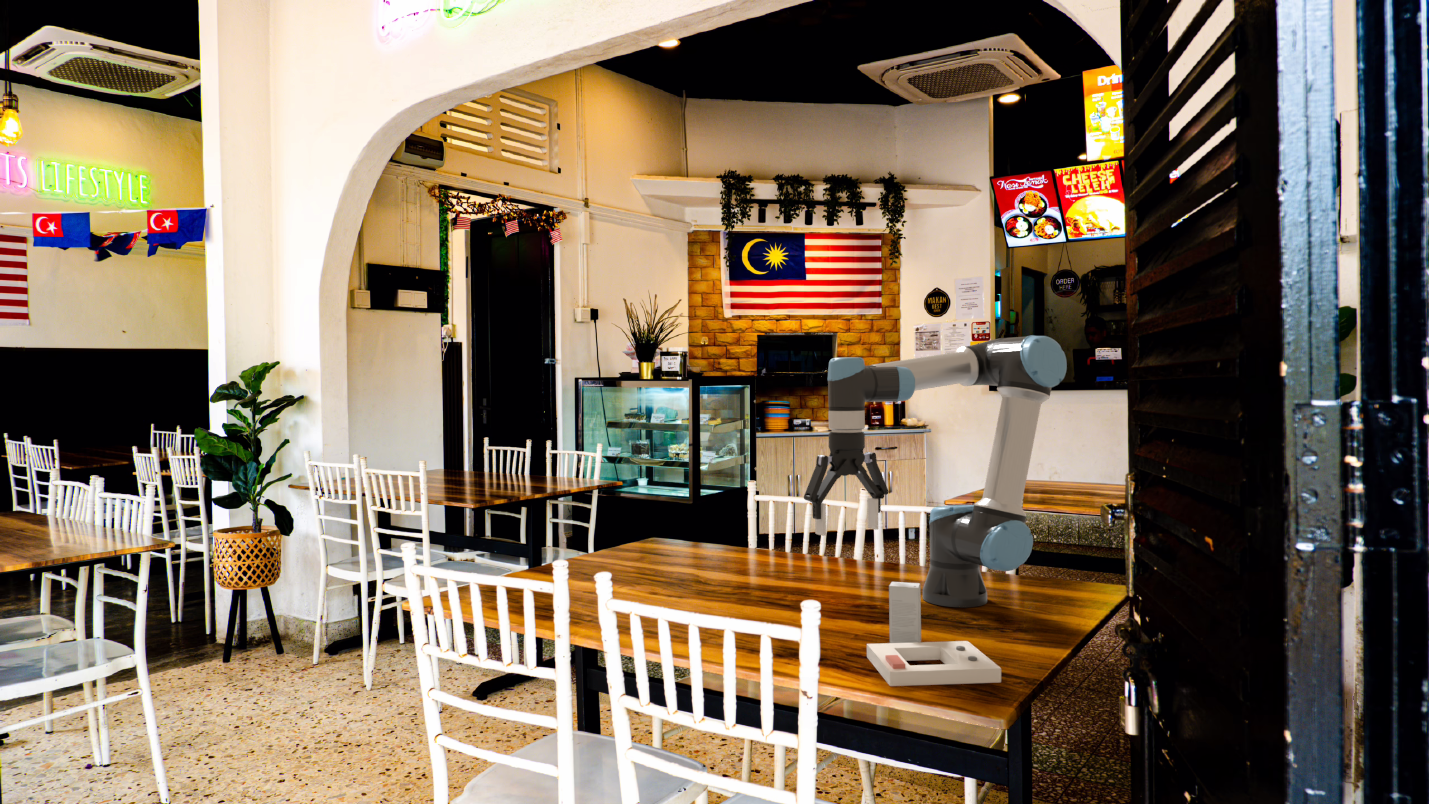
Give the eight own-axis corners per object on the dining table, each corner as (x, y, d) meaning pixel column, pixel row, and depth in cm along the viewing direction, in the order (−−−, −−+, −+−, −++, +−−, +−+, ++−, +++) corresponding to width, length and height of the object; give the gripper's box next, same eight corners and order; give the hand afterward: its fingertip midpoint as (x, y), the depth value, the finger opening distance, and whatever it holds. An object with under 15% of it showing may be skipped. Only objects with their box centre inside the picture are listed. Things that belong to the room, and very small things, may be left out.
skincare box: (921, 641, 175) (921, 583, 174) (919, 647, 171) (919, 587, 170) (891, 638, 177) (891, 580, 176) (888, 644, 173) (888, 585, 172)
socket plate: (967, 653, 166) (967, 636, 166) (1001, 682, 151) (1001, 663, 150) (866, 656, 165) (866, 639, 165) (890, 686, 149) (889, 667, 149)
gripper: (882, 427, 188) (882, 523, 189) (786, 432, 177) (787, 534, 177) (904, 429, 182) (905, 528, 182) (807, 434, 170) (808, 540, 170)
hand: (847, 531), depth 180 cm, fingers open, 13 cm apart
